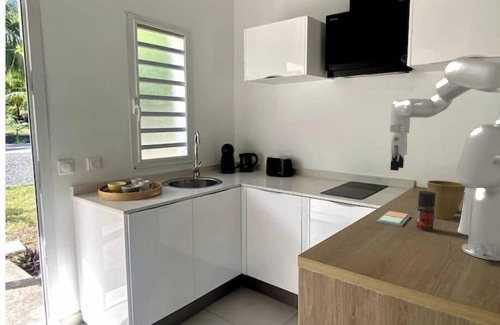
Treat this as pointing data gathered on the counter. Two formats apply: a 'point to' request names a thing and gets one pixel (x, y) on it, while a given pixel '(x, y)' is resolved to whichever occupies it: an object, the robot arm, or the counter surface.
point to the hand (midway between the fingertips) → (396, 169)
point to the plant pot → (446, 198)
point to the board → (394, 218)
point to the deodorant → (425, 210)
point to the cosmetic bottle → (466, 212)
